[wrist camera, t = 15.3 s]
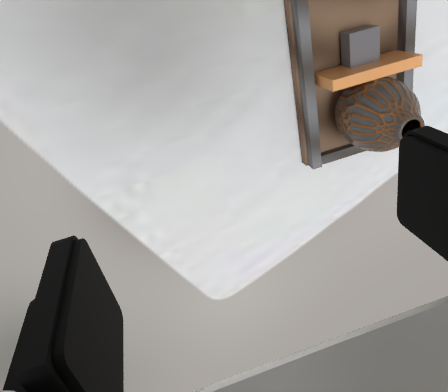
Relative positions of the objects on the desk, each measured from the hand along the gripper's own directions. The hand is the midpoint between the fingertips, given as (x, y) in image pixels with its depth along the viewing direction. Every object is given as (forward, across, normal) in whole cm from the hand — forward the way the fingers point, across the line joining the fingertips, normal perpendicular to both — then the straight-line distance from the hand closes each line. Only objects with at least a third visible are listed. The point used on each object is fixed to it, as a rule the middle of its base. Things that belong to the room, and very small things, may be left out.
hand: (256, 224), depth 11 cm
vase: (+26, -18, +8) cm, 32 cm away
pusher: (+25, -18, +2) cm, 31 cm away
